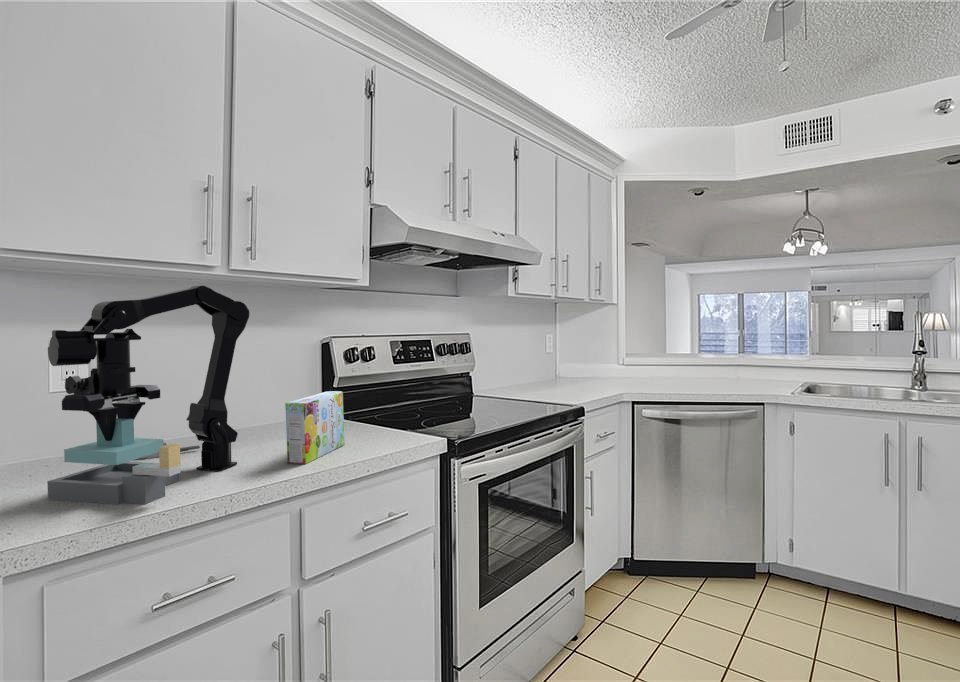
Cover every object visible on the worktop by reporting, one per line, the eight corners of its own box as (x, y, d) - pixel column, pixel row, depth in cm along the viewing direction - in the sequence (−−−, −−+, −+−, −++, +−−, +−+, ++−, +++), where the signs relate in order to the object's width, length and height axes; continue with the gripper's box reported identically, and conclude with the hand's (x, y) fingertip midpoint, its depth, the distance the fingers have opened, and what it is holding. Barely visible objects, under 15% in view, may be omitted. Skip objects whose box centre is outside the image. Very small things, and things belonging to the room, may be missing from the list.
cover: (115, 448, 122) (114, 414, 121) (163, 450, 119) (162, 415, 119) (64, 462, 110) (63, 424, 110) (116, 465, 107) (115, 426, 107)
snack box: (326, 444, 156) (325, 390, 155) (345, 445, 155) (344, 391, 154) (285, 463, 135) (284, 401, 135) (306, 464, 134) (305, 402, 133)
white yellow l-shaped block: (144, 470, 110) (144, 442, 110) (180, 472, 108) (179, 444, 108) (132, 474, 107) (131, 445, 107) (169, 476, 105) (168, 447, 105)
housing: (116, 476, 124) (116, 454, 124) (200, 481, 120) (199, 458, 120) (48, 499, 109) (47, 473, 108) (141, 505, 104) (140, 479, 104)
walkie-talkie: (111, 466, 135) (201, 452, 148) (111, 447, 135) (200, 436, 148) (105, 459, 142) (192, 447, 155) (105, 441, 141) (191, 431, 155)
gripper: (117, 359, 125) (119, 429, 125) (36, 366, 106) (38, 447, 107) (161, 359, 122) (163, 430, 123) (85, 366, 104) (88, 450, 105)
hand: (115, 439), depth 114 cm, fingers closed on cover, 3 cm apart
